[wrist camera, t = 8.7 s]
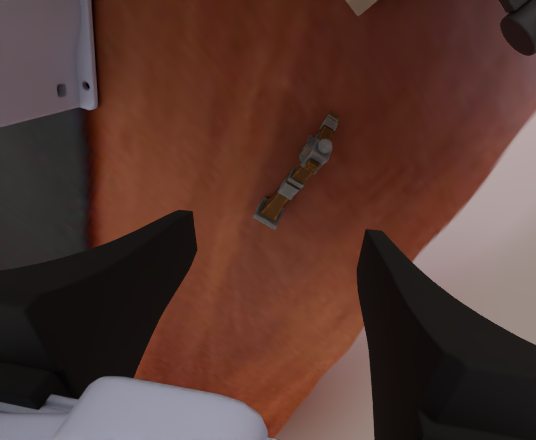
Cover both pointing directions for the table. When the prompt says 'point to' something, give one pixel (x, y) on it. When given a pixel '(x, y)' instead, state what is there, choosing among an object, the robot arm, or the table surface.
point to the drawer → (512, 25)
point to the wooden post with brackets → (299, 172)
